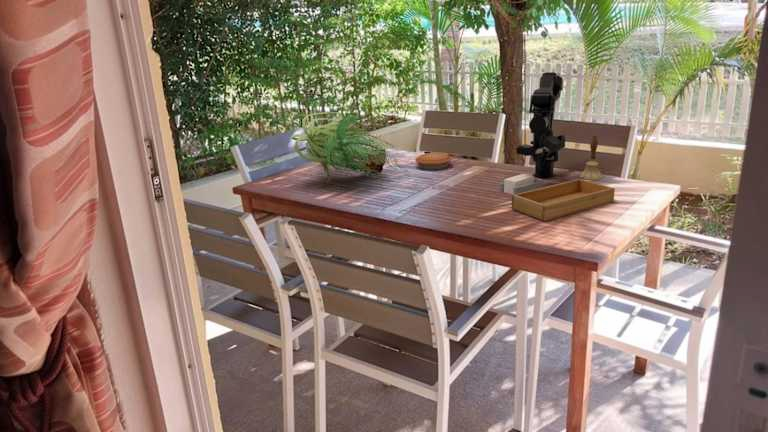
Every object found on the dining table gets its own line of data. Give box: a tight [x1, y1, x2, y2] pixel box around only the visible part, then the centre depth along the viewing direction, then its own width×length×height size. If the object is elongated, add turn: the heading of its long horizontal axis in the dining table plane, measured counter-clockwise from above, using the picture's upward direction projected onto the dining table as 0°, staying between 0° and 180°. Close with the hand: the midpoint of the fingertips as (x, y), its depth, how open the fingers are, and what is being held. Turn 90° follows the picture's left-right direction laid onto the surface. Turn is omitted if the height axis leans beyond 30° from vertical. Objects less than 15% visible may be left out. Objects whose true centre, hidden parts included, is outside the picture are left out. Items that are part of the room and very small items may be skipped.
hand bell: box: [579, 134, 604, 181], centre depth 225 cm, size 8×8×16 cm
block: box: [503, 173, 535, 195], centre depth 216 cm, size 10×5×5 cm, turn 126°
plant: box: [291, 109, 415, 187], centre depth 237 cm, size 35×35×40 cm
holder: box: [498, 178, 544, 195], centre depth 217 cm, size 13×9×3 cm, turn 121°
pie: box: [414, 152, 453, 171], centre depth 254 cm, size 15×16×5 cm
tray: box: [511, 178, 616, 222], centre depth 197 cm, size 31×15×6 cm, turn 120°
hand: (540, 169), depth 220 cm, fingers closed
